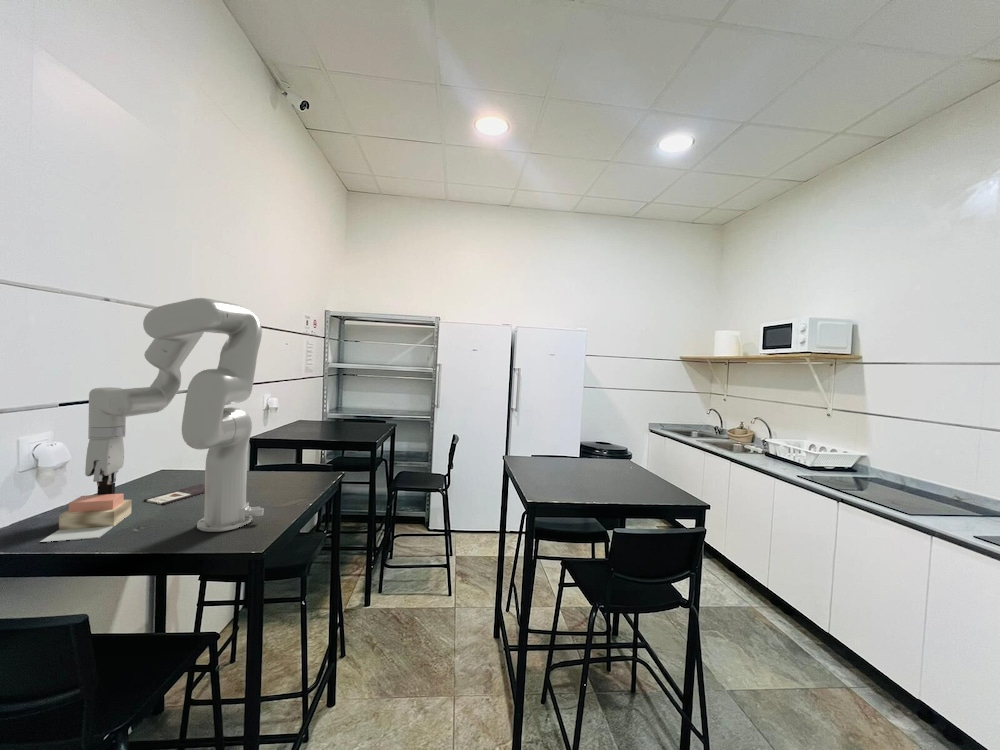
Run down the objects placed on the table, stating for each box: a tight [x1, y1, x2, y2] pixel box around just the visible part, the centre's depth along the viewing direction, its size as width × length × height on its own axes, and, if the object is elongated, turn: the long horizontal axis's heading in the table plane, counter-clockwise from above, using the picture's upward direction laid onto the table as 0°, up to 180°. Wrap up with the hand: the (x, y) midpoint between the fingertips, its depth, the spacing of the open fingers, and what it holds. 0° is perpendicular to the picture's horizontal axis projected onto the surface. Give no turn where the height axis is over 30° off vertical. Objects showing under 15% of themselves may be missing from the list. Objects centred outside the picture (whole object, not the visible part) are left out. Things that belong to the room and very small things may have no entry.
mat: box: [39, 526, 114, 543], centre depth 105 cm, size 11×7×1 cm, turn 111°
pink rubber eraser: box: [68, 493, 125, 512], centre depth 114 cm, size 9×6×2 cm, turn 111°
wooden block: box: [58, 498, 133, 530], centre depth 114 cm, size 11×10×4 cm
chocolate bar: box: [143, 483, 205, 506], centre depth 138 cm, size 9×1×18 cm
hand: (106, 498), depth 118 cm, fingers closed
